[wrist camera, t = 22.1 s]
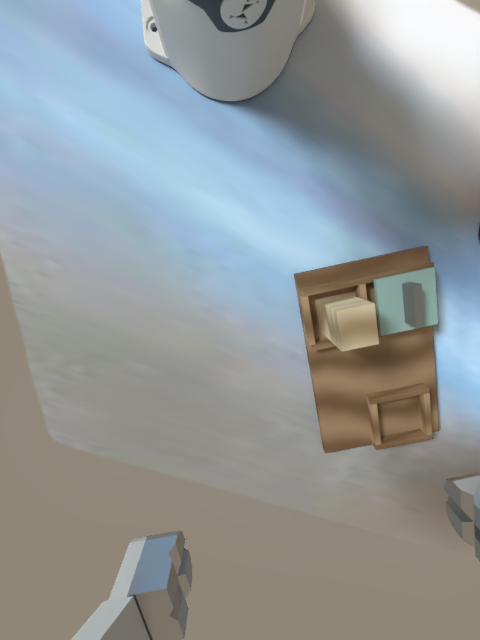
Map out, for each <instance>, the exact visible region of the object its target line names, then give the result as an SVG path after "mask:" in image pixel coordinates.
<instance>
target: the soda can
mask: <svg viewBox="0 0 480 640" xmlns="http://www.w3.org/2000/svg"><path fill="white" fill-rule="evenodd" d="M478 240H479V243H480V224H479V228H478Z"/></svg>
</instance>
